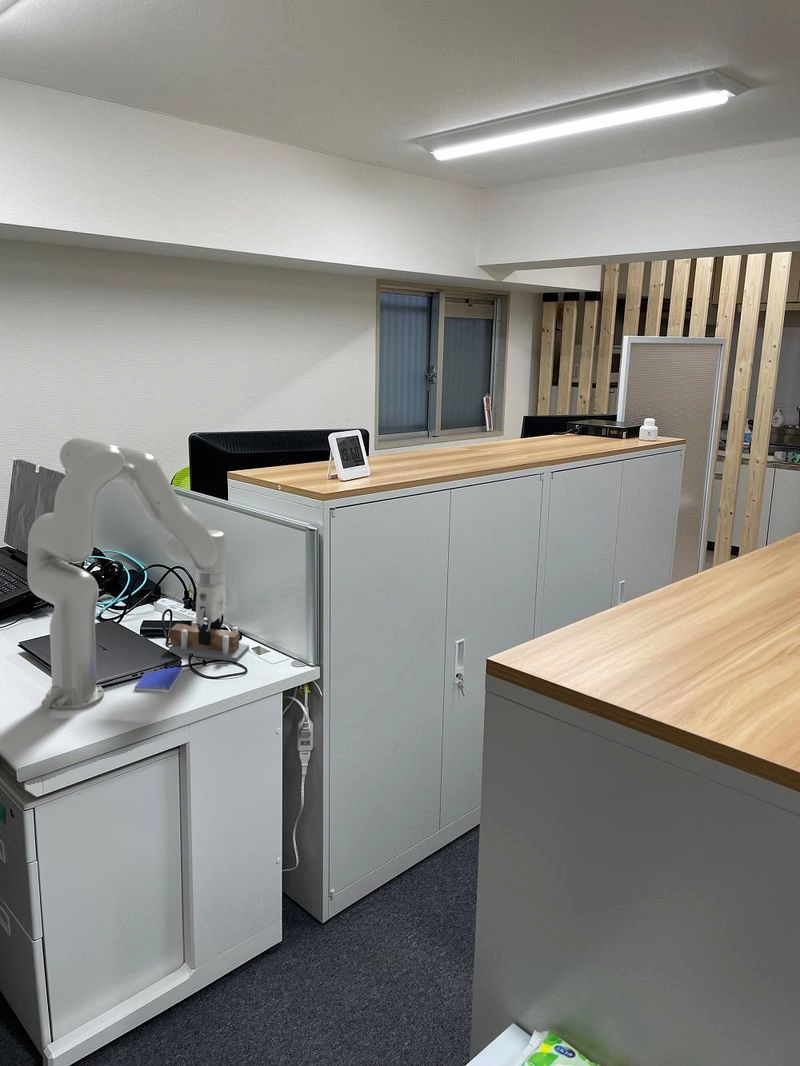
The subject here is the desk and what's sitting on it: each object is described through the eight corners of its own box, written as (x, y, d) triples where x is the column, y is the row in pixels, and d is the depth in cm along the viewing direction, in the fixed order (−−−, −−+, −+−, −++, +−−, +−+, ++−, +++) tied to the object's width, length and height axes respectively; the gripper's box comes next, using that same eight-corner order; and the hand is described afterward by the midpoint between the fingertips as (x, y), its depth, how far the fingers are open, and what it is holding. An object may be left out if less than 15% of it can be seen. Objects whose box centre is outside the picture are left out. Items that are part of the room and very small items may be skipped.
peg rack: (248, 649, 217) (249, 628, 216) (236, 662, 209) (237, 640, 207) (183, 639, 220) (183, 619, 219) (169, 652, 212) (169, 630, 210)
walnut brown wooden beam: (239, 647, 215) (239, 632, 214) (233, 653, 211) (234, 638, 210) (177, 638, 218) (177, 623, 217) (170, 644, 213) (170, 629, 212)
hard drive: (168, 688, 189) (182, 667, 201) (134, 686, 189) (149, 665, 201) (168, 694, 190) (181, 672, 202) (134, 692, 189) (149, 670, 201)
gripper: (211, 588, 200) (210, 654, 205) (236, 569, 217) (234, 630, 222) (183, 584, 201) (182, 650, 206) (210, 566, 218) (209, 626, 223)
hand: (209, 639), depth 214 cm, fingers open, 6 cm apart
